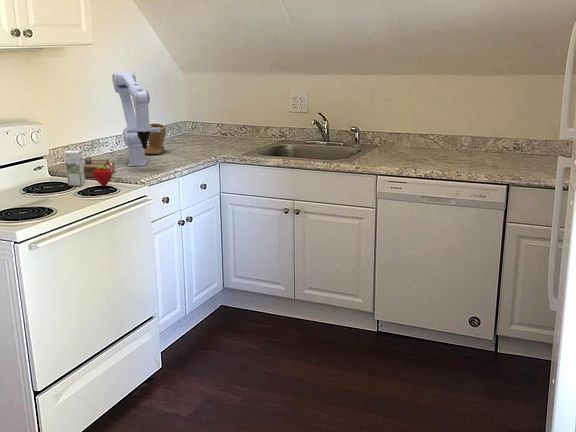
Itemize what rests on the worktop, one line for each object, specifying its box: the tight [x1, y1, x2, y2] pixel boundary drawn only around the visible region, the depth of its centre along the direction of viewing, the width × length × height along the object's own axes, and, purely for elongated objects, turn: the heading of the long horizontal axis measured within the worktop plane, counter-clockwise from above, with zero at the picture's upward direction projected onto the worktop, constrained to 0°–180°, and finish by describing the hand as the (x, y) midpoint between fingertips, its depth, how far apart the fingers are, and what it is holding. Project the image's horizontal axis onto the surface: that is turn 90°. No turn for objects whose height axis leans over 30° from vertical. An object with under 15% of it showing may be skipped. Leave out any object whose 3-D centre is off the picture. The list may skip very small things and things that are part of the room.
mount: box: [83, 159, 110, 180], centre depth 285 cm, size 15×9×5 cm, turn 5°
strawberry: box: [93, 162, 113, 187], centre depth 263 cm, size 6×8×10 cm
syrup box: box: [64, 148, 86, 187], centre depth 266 cm, size 6×6×14 cm
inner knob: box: [107, 161, 116, 172], centre depth 288 cm, size 4×12×4 cm, turn 95°
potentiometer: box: [84, 154, 92, 164], centre depth 283 cm, size 3×3×4 cm
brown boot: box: [144, 122, 167, 155], centre depth 328 cm, size 15×12×15 cm
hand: (145, 148), depth 289 cm, fingers closed
